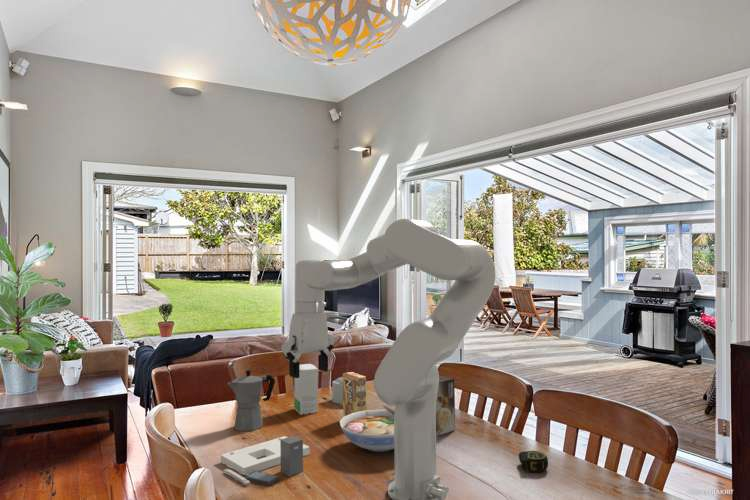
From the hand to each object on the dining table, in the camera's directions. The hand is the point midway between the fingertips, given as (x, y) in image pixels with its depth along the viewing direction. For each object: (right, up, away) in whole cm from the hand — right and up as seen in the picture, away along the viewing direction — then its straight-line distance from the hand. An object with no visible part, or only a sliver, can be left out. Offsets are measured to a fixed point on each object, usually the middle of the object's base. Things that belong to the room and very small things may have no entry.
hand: (309, 373), depth 135 cm
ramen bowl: (+19, -24, +12) cm, 32 cm away
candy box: (+11, -24, +34) cm, 43 cm away
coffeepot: (-22, -24, +31) cm, 45 cm away
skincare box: (-7, -24, +47) cm, 53 cm away
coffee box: (+36, -24, +25) cm, 50 cm away
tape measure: (+56, -23, -4) cm, 61 cm away
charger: (-4, -24, -4) cm, 24 cm away
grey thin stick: (-17, -24, -8) cm, 30 cm away
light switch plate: (-12, -24, +4) cm, 27 cm away
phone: (-10, -24, -9) cm, 27 cm away
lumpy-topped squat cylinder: (+8, -24, +59) cm, 64 cm away
